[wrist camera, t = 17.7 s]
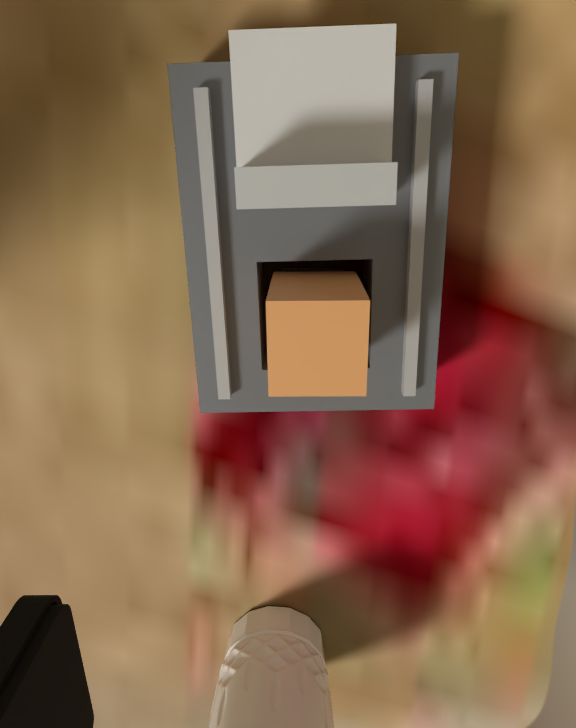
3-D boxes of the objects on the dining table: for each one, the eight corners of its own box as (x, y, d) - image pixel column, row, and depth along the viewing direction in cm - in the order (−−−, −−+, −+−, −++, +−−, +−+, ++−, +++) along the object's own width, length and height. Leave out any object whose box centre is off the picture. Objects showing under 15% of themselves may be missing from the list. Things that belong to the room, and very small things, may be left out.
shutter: (240, 202, 24) (229, 209, 20) (230, 34, 22) (217, 9, 18) (387, 198, 24) (402, 204, 20) (393, 28, 22) (411, 1, 18)
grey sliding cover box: (212, 383, 32) (198, 417, 27) (186, 77, 26) (163, 61, 22) (417, 379, 31) (436, 413, 27) (436, 68, 26) (463, 49, 21)
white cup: (202, 654, 39) (170, 808, 30) (254, 580, 37) (238, 723, 27) (295, 695, 40) (294, 856, 31) (352, 627, 38) (368, 778, 29)
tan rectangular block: (276, 261, 29) (265, 301, 21) (350, 260, 29) (370, 300, 21) (277, 332, 31) (268, 396, 22) (348, 332, 30) (366, 396, 22)
